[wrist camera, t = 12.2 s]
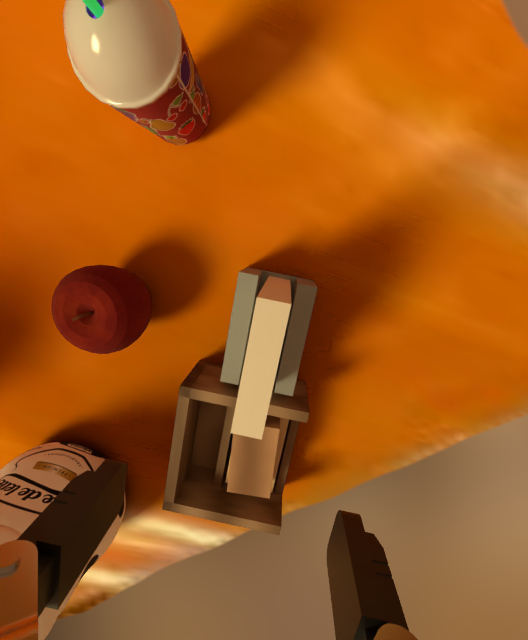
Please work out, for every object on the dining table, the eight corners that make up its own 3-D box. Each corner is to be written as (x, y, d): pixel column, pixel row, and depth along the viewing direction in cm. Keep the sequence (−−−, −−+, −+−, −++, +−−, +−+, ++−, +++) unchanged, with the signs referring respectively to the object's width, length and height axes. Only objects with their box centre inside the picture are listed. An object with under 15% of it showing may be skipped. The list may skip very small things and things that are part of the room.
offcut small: (280, 415, 39) (279, 428, 36) (270, 480, 41) (269, 498, 38) (238, 409, 39) (234, 422, 36) (231, 474, 41) (226, 491, 39)
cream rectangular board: (290, 280, 39) (291, 304, 23) (271, 366, 42) (261, 439, 26) (269, 275, 39) (256, 297, 24) (252, 362, 42) (230, 432, 26)
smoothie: (229, 86, 36) (160, -99, 16) (207, 166, 38) (122, 84, 18) (156, 60, 36) (0, -157, 16) (138, 141, 38) (-22, 32, 18)
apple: (134, 246, 40) (85, 247, 31) (180, 311, 42) (148, 331, 32) (77, 289, 42) (14, 302, 32) (124, 349, 44) (77, 380, 34)
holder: (312, 279, 40) (317, 287, 33) (291, 371, 43) (292, 396, 36) (247, 266, 40) (238, 271, 33) (230, 359, 43) (220, 381, 36)
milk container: (106, 418, 46) (-5, 525, 29) (152, 520, 49) (78, 671, 32) (1, 447, 48) (-162, 562, 31) (52, 542, 52) (-69, 695, 34)
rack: (305, 382, 43) (309, 413, 35) (280, 486, 47) (279, 535, 39) (199, 360, 43) (180, 385, 35) (183, 465, 47) (162, 509, 39)
